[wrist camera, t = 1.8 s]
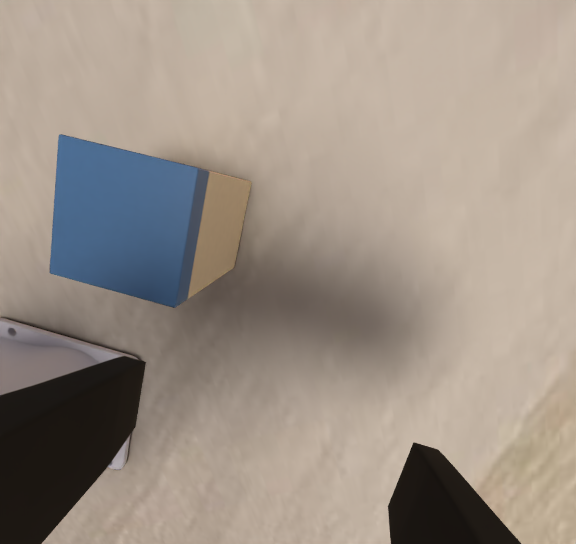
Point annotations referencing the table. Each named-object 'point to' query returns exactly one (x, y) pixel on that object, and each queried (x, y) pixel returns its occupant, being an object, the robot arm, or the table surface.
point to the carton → (143, 222)
